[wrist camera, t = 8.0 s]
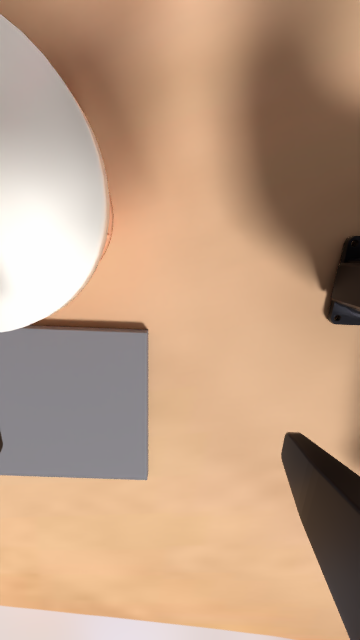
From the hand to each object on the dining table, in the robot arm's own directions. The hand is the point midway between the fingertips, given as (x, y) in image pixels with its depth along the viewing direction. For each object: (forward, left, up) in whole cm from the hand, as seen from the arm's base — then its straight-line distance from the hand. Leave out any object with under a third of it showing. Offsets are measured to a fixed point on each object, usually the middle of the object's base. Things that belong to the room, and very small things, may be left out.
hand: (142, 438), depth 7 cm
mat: (+9, +8, -12) cm, 17 cm away
